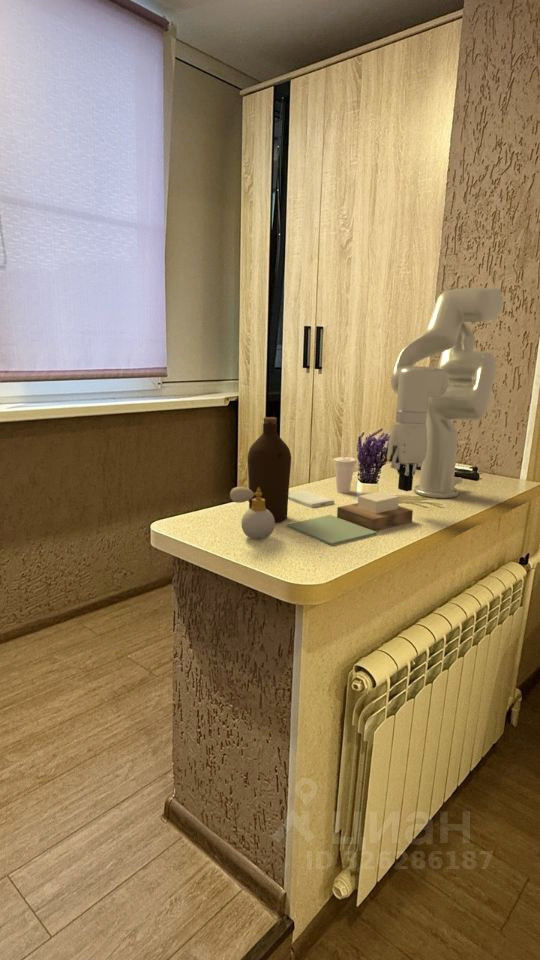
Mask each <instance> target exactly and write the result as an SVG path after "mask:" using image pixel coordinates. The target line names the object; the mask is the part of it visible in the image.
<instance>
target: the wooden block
mask: <svg viewBox="0 0 540 960" xmlns="http://www.w3.org/2000/svg"><path fill="white" fill-rule="evenodd" d="M336 510H337V512H336V513H337V515H336V517H337V518H340V519H343V520H346V521H348V522H351V523H354V524H357V525H359V526H362V527H365V528H367V529H370V530H373V531H376V532H377V531H381V530H384V529H388V528H392V527H397V526H401V525H404V524H409V523H412V522H413V514H414V512H413V511H414V510H413V509H410V508H407V507H403V506H402V505H398V509H394V510H389V511H385V512H380V513H376V514H375V513H372V512H369V511H366V510H363V509H360V508H358V502H356V503H352V504H347V505H342V506H338V507H337V509H336Z"/></svg>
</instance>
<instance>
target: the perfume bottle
mask: <svg viewBox="0 0 540 960" xmlns="http://www.w3.org/2000/svg"><path fill="white" fill-rule="evenodd" d="M260 491H261V490H260V489H259V488H258V489H257V492H256V493H254V492H252V491H251V490H250V489H249V487H244V486H236V487H233V488H232V489H231V490H230V493H229V497H230V500H231V501H232V502H235V503H237V504H240V503H246V502H249V501H248V500H250V499H251V498H252V497H253V496H254V495H256V496H257V497H256V498H254V499H252V507H251V509H249V508H248V510H246V512H245V513H244V514H243V515H242V517H241V530H242V531H243V533H244V535H245V536H246V537H248V539H251V540H253V541H254V540H255V541H261V540H265V539H268V538H269V537H270V536H271V535H272V533H273V532H274V530H275V526H276V523H275V520H274V517H273V515H272V513H271V512H270V511H269V510H267V509H266V507H265V499H263V498H261V497H260V496H261V495H262V492H260Z"/></svg>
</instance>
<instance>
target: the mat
mask: <svg viewBox="0 0 540 960" xmlns="http://www.w3.org/2000/svg"><path fill="white" fill-rule="evenodd" d="M285 526H286V528H289V529H291V530H293V531H296V532H297V533H300V534H303V535H305V536H307V537H310V538H312V539H315V540H316V541H319V542H322V543H324V544H326V545H328V546H331V547H333V546H337V545H340V544H345V543H348V542H352V541H353V542H354V541H356V540H357V541H358V540H360V539H365V538H369V537H371V536H373V537H374V536H377V534H378V532H377V531H373V530H370V529H367V528H365V527H362V526H359V525H357V524H354V523H351V522H348V521H346V520H343V519H340V518H337V516H335V515H332V514H328V515H322V516H320V517H319V516H318V517H314V518H309V519H304V520H300V521H295V522H290V523H286V525H285Z"/></svg>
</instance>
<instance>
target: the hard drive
mask: <svg viewBox="0 0 540 960" xmlns="http://www.w3.org/2000/svg"><path fill="white" fill-rule="evenodd" d="M288 499H289V500H288V501H291V500H292V501H291V502H294V503H296V504H299V505H303V506H305V507H307V508H310V509H313V508H319V507H323V506H328V505H334V504H335V500H333V499H331V498H328V497H325V496H322V495H320V494H316V493H314V492H310V491H308V490H304V489H303V490H299V491H294V492H293V491H292V492H289V494H288Z"/></svg>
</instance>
